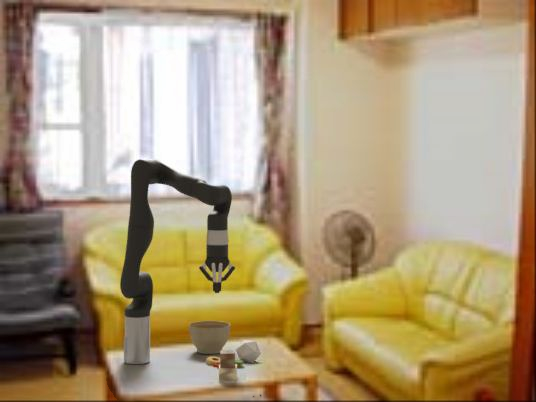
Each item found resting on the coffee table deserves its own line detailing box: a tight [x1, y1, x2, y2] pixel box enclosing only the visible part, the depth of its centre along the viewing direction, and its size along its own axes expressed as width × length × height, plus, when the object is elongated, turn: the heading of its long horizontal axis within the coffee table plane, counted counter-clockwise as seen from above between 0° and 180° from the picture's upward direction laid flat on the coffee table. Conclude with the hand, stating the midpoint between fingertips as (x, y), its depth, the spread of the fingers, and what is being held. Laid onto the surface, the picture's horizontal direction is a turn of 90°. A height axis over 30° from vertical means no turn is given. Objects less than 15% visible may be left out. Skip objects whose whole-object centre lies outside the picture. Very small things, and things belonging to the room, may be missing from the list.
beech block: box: [218, 364, 238, 380], centre depth 289 cm, size 6×6×4 cm
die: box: [235, 339, 262, 364], centre depth 316 cm, size 8×9×10 cm
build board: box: [209, 373, 247, 384], centre depth 289 cm, size 12×12×1 cm
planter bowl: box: [188, 320, 231, 355], centre depth 331 cm, size 16×16×11 cm
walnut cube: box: [219, 349, 236, 368], centre depth 289 cm, size 5×5×5 cm
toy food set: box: [205, 356, 245, 370], centre depth 308 cm, size 13×13×3 cm
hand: (217, 292), depth 294 cm, fingers closed
